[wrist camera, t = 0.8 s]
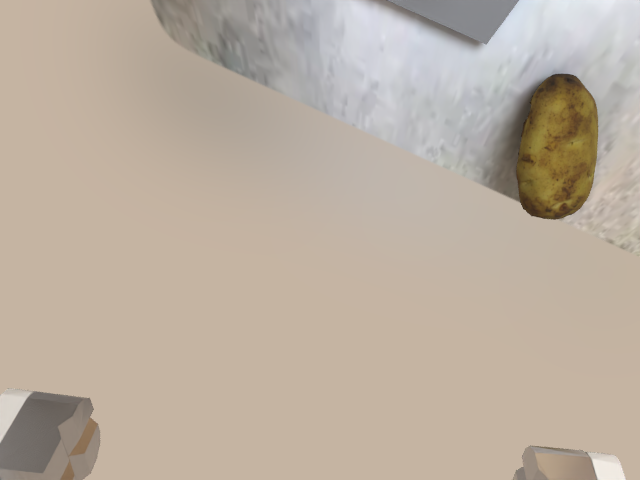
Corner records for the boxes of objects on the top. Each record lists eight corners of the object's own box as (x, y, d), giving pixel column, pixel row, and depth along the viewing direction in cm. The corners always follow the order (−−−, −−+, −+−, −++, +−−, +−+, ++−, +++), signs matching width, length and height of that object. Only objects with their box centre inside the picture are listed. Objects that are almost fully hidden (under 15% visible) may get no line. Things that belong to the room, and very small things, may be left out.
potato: (630, 73, 53) (659, 134, 48) (560, 177, 63) (577, 237, 58) (539, 57, 52) (559, 117, 47) (482, 165, 62) (493, 225, 57)
